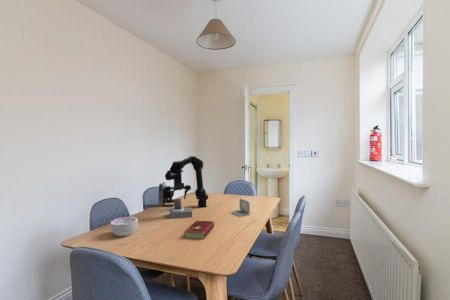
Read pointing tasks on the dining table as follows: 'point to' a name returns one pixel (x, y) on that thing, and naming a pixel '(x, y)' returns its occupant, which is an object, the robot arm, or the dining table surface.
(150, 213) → the dining table surface
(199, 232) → the hardcover book
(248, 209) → the handheld gaming console
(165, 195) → the vintage camera
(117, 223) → the speckled grey bowl
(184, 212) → the octagon ring plate
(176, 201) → the lens
